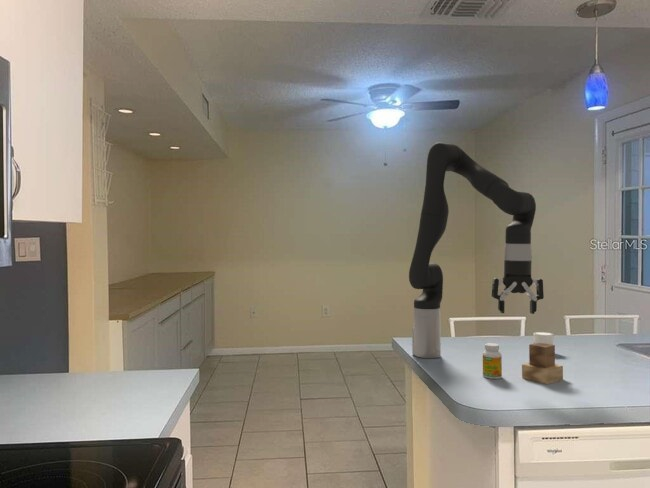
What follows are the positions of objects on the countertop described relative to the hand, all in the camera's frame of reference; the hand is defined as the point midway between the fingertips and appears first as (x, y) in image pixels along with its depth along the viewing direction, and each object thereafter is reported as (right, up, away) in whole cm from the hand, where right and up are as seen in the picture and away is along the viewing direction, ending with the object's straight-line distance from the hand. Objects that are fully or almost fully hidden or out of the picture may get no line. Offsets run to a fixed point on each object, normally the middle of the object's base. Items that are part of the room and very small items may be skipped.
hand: (517, 313), depth 140 cm
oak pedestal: (+7, -19, -1) cm, 20 cm away
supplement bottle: (-7, -20, +1) cm, 21 cm away
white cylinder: (+22, -19, +31) cm, 43 cm away
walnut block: (+7, -15, -1) cm, 17 cm away
